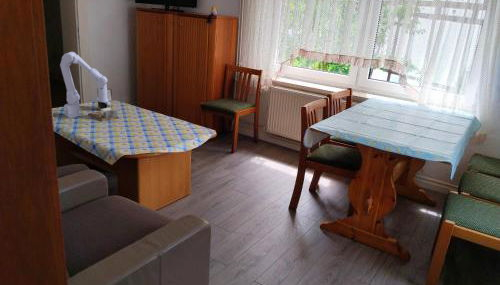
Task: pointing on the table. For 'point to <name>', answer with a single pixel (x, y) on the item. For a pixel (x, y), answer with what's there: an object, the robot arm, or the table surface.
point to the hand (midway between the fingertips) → (103, 112)
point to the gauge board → (105, 115)
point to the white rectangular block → (105, 110)
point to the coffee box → (109, 96)
